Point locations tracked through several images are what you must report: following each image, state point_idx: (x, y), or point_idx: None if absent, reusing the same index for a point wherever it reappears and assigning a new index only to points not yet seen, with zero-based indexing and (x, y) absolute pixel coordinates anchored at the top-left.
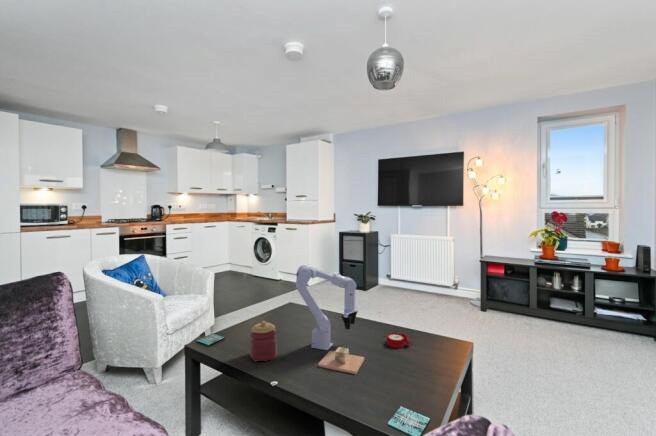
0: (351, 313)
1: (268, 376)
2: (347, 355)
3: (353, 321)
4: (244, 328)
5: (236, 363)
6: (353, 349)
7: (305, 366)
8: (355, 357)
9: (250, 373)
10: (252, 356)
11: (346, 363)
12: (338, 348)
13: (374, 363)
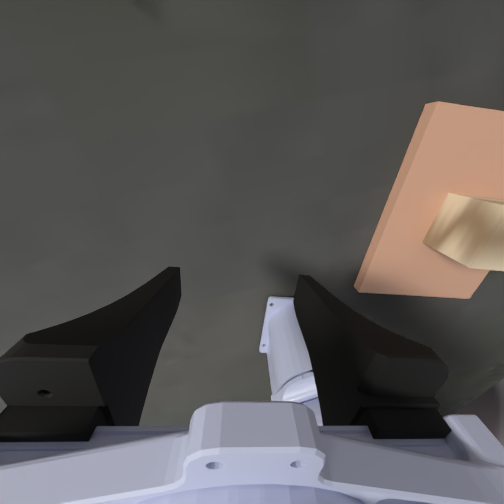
0: (134, 382)
1: (490, 376)
2: (496, 201)
3: (170, 285)
4: None
5: None
6: (302, 196)
7: (452, 324)
8: (435, 160)
9: (465, 405)
10: None
11: (492, 193)
12: (490, 265)
13: (482, 16)
